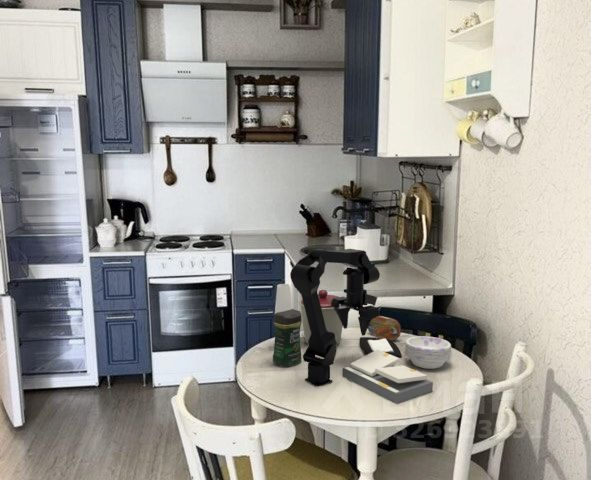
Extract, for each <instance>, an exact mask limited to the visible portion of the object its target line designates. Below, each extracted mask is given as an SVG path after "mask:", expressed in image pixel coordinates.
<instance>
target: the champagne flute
mask: <svg viewBox="0 0 591 480" xmlns="http://www.w3.org/2000/svg"><path fill="white" fill-rule="evenodd" d="M275 295H276V297H275V305H274V306H275V309H274V314H276V313H278V312H283V311H287V310H291V309H293V302H292V301H293V299H292V291H291V285H290V284H289V283H280V284H277V286H276V294H275Z"/></svg>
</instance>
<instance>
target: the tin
mask: <svg viewBox="0 0 591 480" xmlns="http://www.w3.org/2000/svg"><path fill="white" fill-rule="evenodd" d="M401 328H402V327H401V324H400V323H399V321H398V320H396V319H394V318H391V317H387V316H383V315H380V316H377V317H376V318H373V319H372V320H371V322H370V324H369V326H368V329H367V332H369V334H370V335H371V336H372V337H374V338H383V339H390V340H392V341H394V340H398V338H400V336H401V334H402V329H401Z"/></svg>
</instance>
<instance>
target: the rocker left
mask: <svg viewBox="0 0 591 480" xmlns="http://www.w3.org/2000/svg"><path fill="white" fill-rule="evenodd" d="M399 362H400V358H397V357H395V356H393V355H390V354H388V353H385V352H383V351H380V350H378V349H377V350H376V351H374V352H372V353H370V354H368V355H366V354H365V356H363V357H361V358H358V359H356V360H354V361H353V362H351V363H350V365H351V367H352V368H354V369H357V370H359V371H361V372H363V373H365V374H367V375H369V376H371V377H373V376H375V375H376V374H377V373H375V369H376V368H385V367H391V366H393V365H394V366H395V365H396V364H398V363H399Z"/></svg>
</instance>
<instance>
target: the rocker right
mask: <svg viewBox="0 0 591 480" xmlns="http://www.w3.org/2000/svg"><path fill="white" fill-rule="evenodd" d="M375 373H377V374H380V375H382V376H384V377H386V378H388V379H390V380H393V381H395V382H397V383H404V382H411V381H418V380H426V379H427V378H428V375H427V374H425V373H422V372H420V371H417V370H416V369H413V368H410V367H408V366H405V365H394V367H385V368H376V369H375ZM427 380H428V379H427Z"/></svg>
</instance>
